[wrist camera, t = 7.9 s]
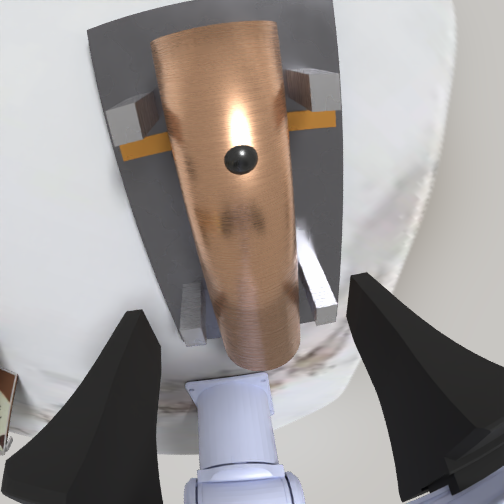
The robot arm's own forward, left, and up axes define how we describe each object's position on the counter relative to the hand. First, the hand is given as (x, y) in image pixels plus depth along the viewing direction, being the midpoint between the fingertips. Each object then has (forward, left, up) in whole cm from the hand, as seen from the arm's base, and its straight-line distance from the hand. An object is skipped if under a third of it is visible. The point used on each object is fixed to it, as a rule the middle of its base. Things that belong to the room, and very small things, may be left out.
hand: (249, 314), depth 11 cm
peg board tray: (0, 0, -9) cm, 9 cm away
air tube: (0, 0, -8) cm, 8 cm away
